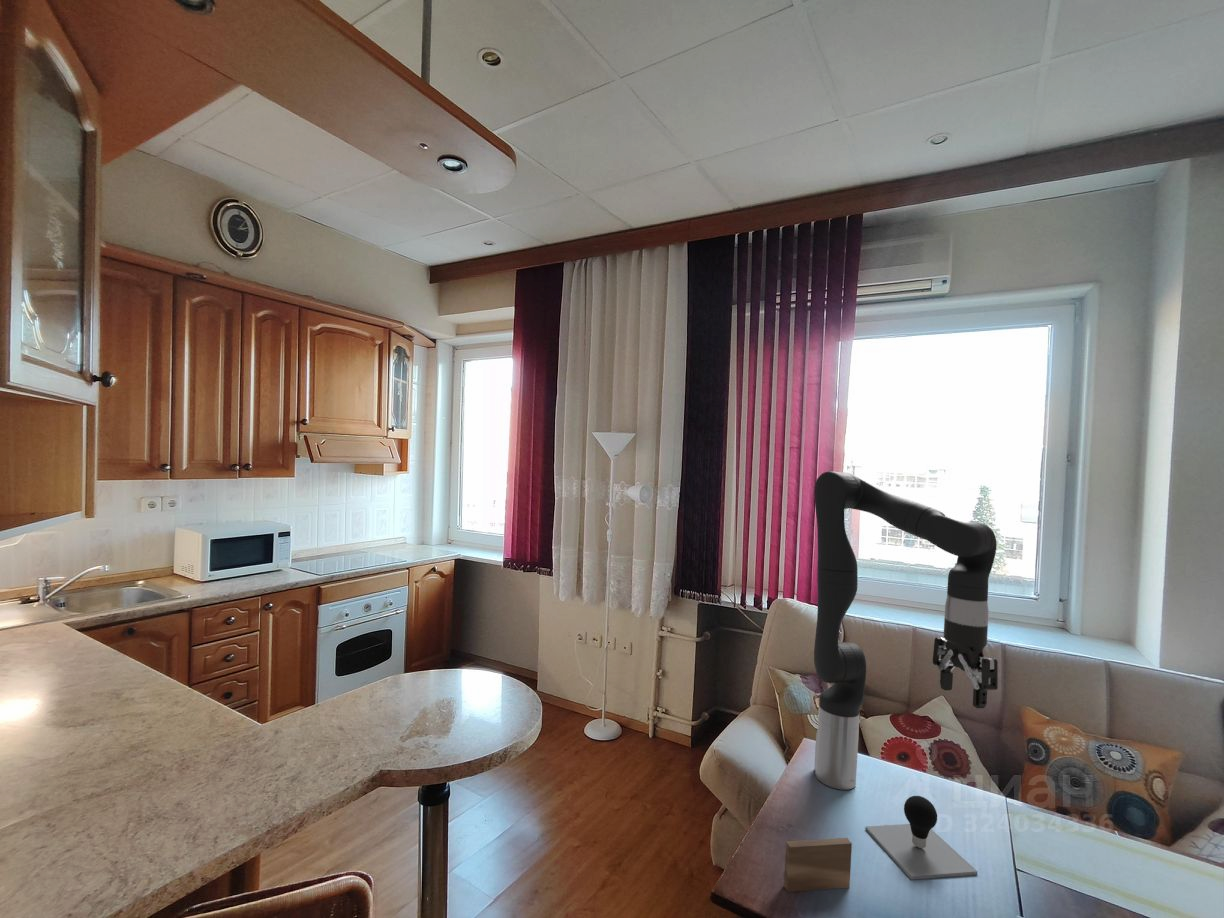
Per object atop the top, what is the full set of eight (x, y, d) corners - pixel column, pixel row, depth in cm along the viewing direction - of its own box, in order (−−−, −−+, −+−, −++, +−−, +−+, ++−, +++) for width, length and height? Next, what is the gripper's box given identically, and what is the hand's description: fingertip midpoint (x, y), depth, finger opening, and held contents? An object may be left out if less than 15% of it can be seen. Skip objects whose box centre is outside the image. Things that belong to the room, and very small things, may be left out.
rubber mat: (865, 829, 117) (865, 826, 117) (924, 825, 119) (924, 823, 119) (911, 879, 103) (911, 876, 103) (977, 874, 105) (977, 871, 105)
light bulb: (930, 841, 113) (933, 792, 113) (939, 861, 107) (941, 810, 107) (899, 835, 114) (901, 787, 114) (906, 854, 109) (908, 803, 109)
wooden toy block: (783, 885, 100) (786, 841, 100) (844, 881, 102) (847, 837, 102) (787, 892, 98) (789, 847, 98) (849, 887, 100) (851, 843, 100)
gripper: (1012, 630, 107) (1007, 713, 107) (955, 610, 121) (951, 683, 121) (977, 630, 106) (973, 714, 106) (924, 609, 120) (920, 684, 120)
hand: (961, 698), depth 113 cm, fingers open, 8 cm apart
